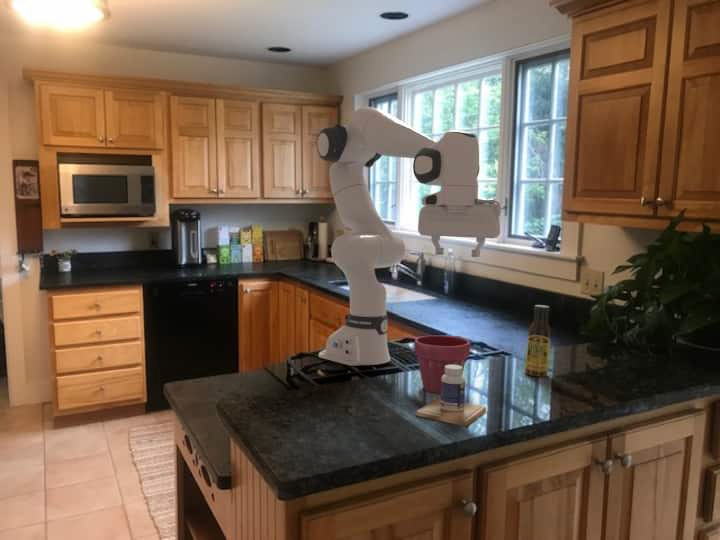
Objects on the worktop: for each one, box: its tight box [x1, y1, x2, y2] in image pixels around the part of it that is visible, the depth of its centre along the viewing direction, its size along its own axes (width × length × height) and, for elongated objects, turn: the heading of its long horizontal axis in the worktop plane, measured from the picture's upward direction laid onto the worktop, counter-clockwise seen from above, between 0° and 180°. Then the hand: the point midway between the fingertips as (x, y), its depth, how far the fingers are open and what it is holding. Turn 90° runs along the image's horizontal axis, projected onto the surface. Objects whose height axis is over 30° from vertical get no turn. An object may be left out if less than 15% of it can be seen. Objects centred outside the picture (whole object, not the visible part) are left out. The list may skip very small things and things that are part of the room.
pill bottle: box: [440, 365, 466, 412], centre depth 137 cm, size 5×5×10 cm
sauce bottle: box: [524, 304, 552, 378], centre depth 170 cm, size 6×6×20 cm
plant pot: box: [413, 334, 471, 394], centre depth 156 cm, size 14×14×13 cm
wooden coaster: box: [415, 397, 487, 427], centre depth 137 cm, size 12×12×1 cm
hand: (457, 255), depth 147 cm, fingers open, 8 cm apart
